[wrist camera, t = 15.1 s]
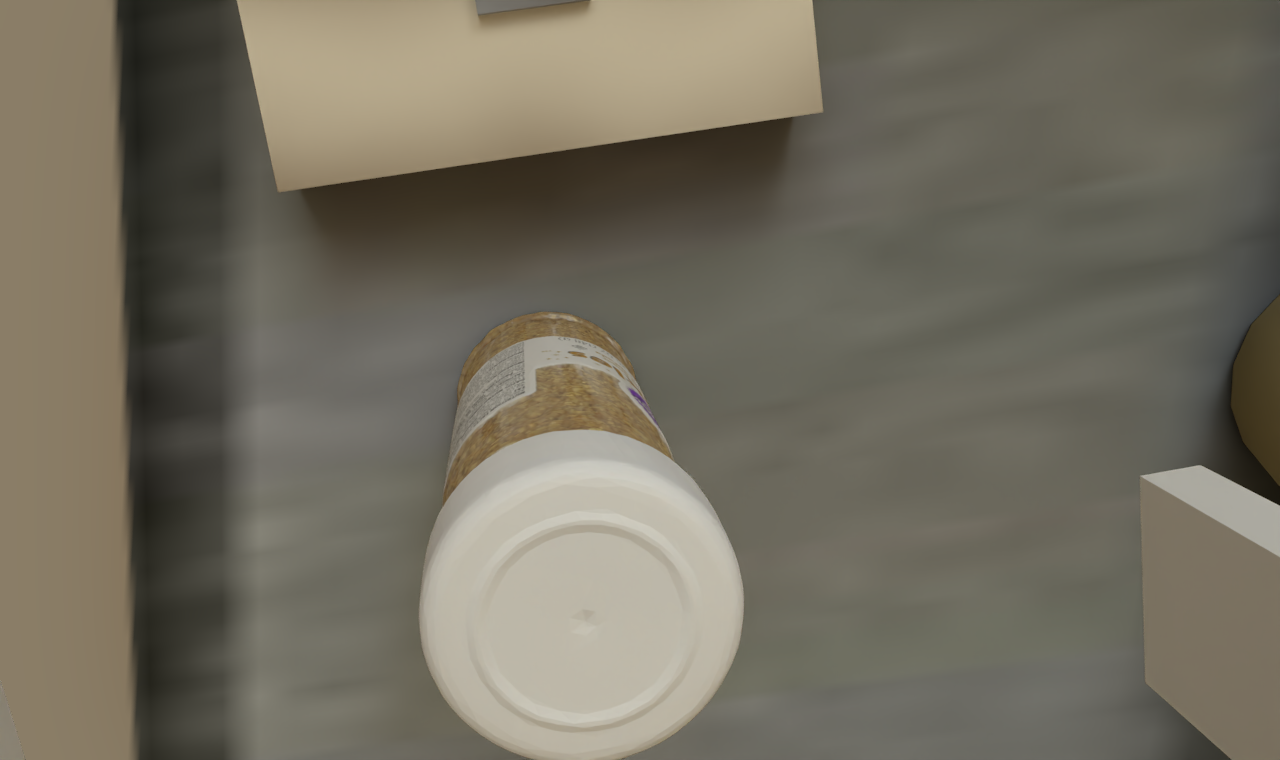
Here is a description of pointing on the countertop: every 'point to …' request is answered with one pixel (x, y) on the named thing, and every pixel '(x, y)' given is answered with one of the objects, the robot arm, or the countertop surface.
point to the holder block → (512, 77)
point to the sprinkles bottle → (572, 555)
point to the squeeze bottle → (1260, 389)
